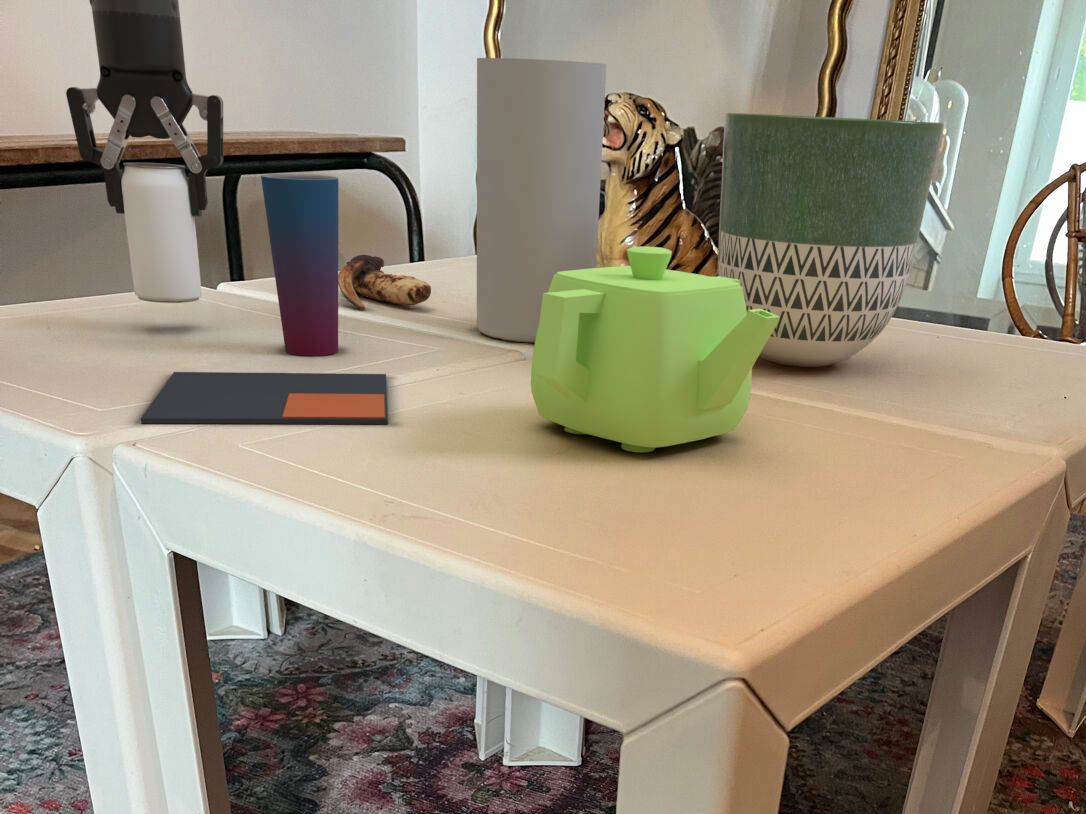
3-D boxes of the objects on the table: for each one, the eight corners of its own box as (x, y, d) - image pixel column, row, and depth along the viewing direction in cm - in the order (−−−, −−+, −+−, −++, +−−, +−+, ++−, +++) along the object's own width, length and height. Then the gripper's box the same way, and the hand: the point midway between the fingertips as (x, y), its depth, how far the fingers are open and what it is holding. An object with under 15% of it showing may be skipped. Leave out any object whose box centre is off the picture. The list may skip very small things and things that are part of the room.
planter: (937, 382, 107) (989, 125, 96) (750, 386, 102) (783, 116, 91) (838, 342, 123) (873, 119, 112) (673, 345, 118) (693, 111, 107)
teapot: (834, 445, 85) (864, 259, 79) (656, 492, 73) (674, 276, 66) (655, 397, 96) (668, 231, 90) (475, 431, 84) (475, 242, 78)
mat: (141, 423, 83) (140, 416, 82) (174, 376, 96) (173, 370, 96) (387, 424, 85) (387, 417, 85) (386, 378, 99) (386, 372, 99)
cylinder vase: (603, 328, 125) (618, 66, 112) (577, 348, 114) (590, 61, 102) (496, 319, 127) (498, 61, 115) (460, 338, 117) (459, 56, 104)
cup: (362, 350, 109) (354, 178, 102) (315, 360, 104) (302, 180, 97) (308, 341, 112) (297, 173, 105) (260, 351, 107) (244, 174, 99)
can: (121, 299, 111) (104, 163, 105) (156, 291, 116) (142, 161, 111) (181, 305, 110) (167, 168, 104) (214, 297, 115) (202, 166, 109)
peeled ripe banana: (306, 297, 138) (378, 316, 126) (302, 256, 136) (375, 271, 124) (373, 290, 143) (449, 308, 131) (370, 250, 141) (446, 264, 128)
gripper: (223, 18, 105) (239, 214, 114) (61, 7, 103) (90, 208, 111) (213, 13, 99) (231, 221, 107) (41, 1, 97) (73, 214, 105)
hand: (159, 213), depth 109 cm, fingers closed on can, 6 cm apart
